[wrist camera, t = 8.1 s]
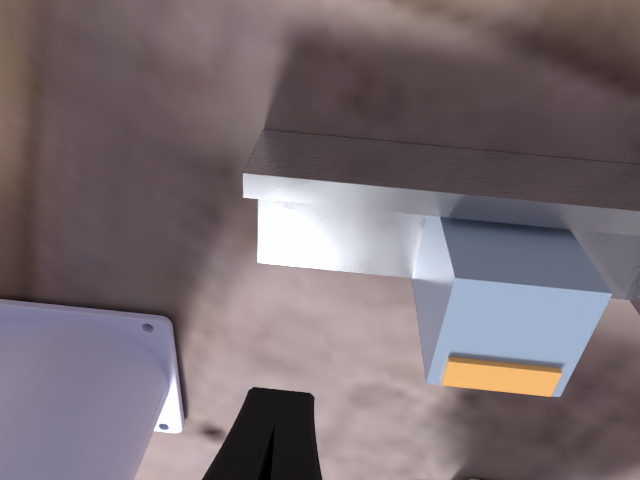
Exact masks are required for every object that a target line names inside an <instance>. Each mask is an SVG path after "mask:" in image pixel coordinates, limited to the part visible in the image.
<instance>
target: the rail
mask: <svg viewBox="0 0 640 480" xmlns="http://www.w3.org/2000/svg"><path fill="white" fill-rule="evenodd" d="M243 198H252V199H258V263H266V264H276V265H286V266H296V267H306V268H316V269H326V270H336V271H346V272H356V273H366V274H376V275H386V276H396V277H406V278H413V276H414V271H415V267H416V262H417V257H418V253H419V248H420V244H421V239H422V235H423V230H424V225H425V221H426V216H438V217H448V218H458V219H468V220H479V221H489V222H499V223H510V224H520V225H530V226H540V227H551V228H561V229H570V230H571V231H572V233H573V234H574V236H575V237H576V239H577V241H578V242H579V244H580V245H581V247H582V248H583V250H584V251H585V253H586V254H587V256H588V257H589V259H590V260H591V262H592V263H593V265H594V266H595V268H596V269H597V271H598V272H599V274H600V275H601V277H602V278H603V280H604V281H605V283H606V284H607V286H608V287H609V289H610V291H611V292H612V296H611V298H616V299H626V300H630V302H631V303H632V304H633V306H634V307H635V309H636V310H637V312H638V313H639V315H640V165H634V164H624V163H613V162H602V161H592V160H581V159H570V158H560V157H549V156H539V155H528V154H517V153H507V152H496V151H485V150H475V149H464V148H454V147H443V146H432V145H422V144H411V143H400V142H390V141H379V140H369V139H358V138H347V137H337V136H326V135H315V134H305V133H294V132H284V131H273V130H263V131H262V133H261V135H260V137H259V140H258V142H257V144H256V146H255V148H254V150H253V152H252V155H251V157H250V159H249V161H248V163H247V165H246V167H245V170H244V172H243Z"/></svg>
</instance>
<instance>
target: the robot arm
mask: <svg viewBox="0 0 640 480" xmlns="http://www.w3.org/2000/svg"><path fill="white" fill-rule="evenodd" d="M147 324H150V325H151V326H149V325H147ZM314 398H315V397H314V396H313V395H312V394H310V393H305V392H295V391H286V390H277V389H267V388H258V387H253V388H252V389H250V390H249V391H248V394H247V396H246V399H245V401H244V404H243V406H242V408H241V410H240V412H239V414H238V416H237V419H236V421H235V423H234V424H233V426H232V428H231V430H230V432H229V434H228V436H227V438H226V440H225V441H224V443H223V445H222V447H221V449H220V450H219V452H218V454H217V455H216V457H215V459H214V460H213V462H212V464H211V465H210V467H209V469H208V470H207V472H206V474H205V476H204V477H203V479H202V480H322V475H321V470H320V464H319V458H318V451H317V443H316V435H315V423H314ZM184 424H185V421H184V413H183V405H182V397H181V389H180V381H179V373H178V365H177V357H176V350H175V342H174V334H173V326H172V323H171V321H170V320H169V319H168V318H166V317H164V316H160V315H150V314H141V313H131V312H121V311H112V310H102V309H92V308H82V307H73V306H63V305H53V304H44V303H34V302H24V301H14V300H5V299H0V480H134V478H135V476H136V473H137V471H138V468H139V466H140V463H141V461H142V458H143V456H144V453H145V451H146V449H147V446H148V444H149V441H150V439H151V436H152V434H153V431H159V432H168V433H179V432H181V431H182V430H183V428H184Z"/></svg>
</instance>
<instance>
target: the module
mask: <svg viewBox="0 0 640 480" xmlns="http://www.w3.org/2000/svg"><path fill="white" fill-rule="evenodd" d="M412 282H413V290H414V297H415V304H416V312H417V319H418V327H419V334H420V342H421V349H422V356H423V364H424V371H425V379H426V383H428V384H438V385H442V386H452V387H462V388H471V389H481V390H490V391H500V392H509V393H519V394H529V395H538V396H548V397H551V396H553V397H560V396H561V394H562V392H563V390H564V388H565V386H566V384H567V382H568V380H569V378H570V377H571V375H572V373H573V371H574V369H575V367H576V365H577V363H578V361H579V359H580V357H581V355H582V353H583V351H584V349H585V347H586V345H587V343H588V341H589V339H590V337H591V335H592V333H593V331H594V329H595V327H596V325H597V323H598V321H599V319H600V317H601V315H602V313H603V311H604V310H605V308H606V306H607V304H608V302H609V300H610V298H611V296H612V292H611V291H610V289H609V287H608V286H607V284H606V283H605V281H604V280H603V278H602V277H601V275H600V274H599V272H598V271H597V269H596V268H595V266H594V265H593V263H592V262H591V260H590V259H589V257H588V256H587V254H586V253H585V251H584V250H583V248H582V247H581V245H580V244H579V242H578V241H577V239H576V237H575V236H574V234H573V233H572V231H571V230H570V229H561V228H551V227H540V226H530V225H520V224H510V223H499V222H489V221H479V220H468V219H458V218H448V217H438V216H426V221H425V225H424V230H423V235H422V239H421V244H420V248H419V253H418V257H417V262H416V267H415V271H414V276H413V280H412Z"/></svg>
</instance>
